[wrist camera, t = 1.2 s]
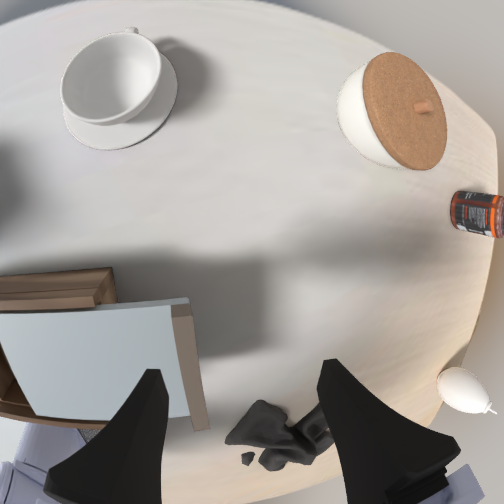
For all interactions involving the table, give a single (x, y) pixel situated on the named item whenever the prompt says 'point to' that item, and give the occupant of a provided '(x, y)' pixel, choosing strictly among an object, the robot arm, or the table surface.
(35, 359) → the lid
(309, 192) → the table surface
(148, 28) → the table surface
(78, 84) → the teacup
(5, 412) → the walnut box
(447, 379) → the air blower bulb
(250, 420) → the cloth
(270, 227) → the table surface
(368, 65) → the lidded jar
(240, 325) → the table surface
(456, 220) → the supplement bottle
